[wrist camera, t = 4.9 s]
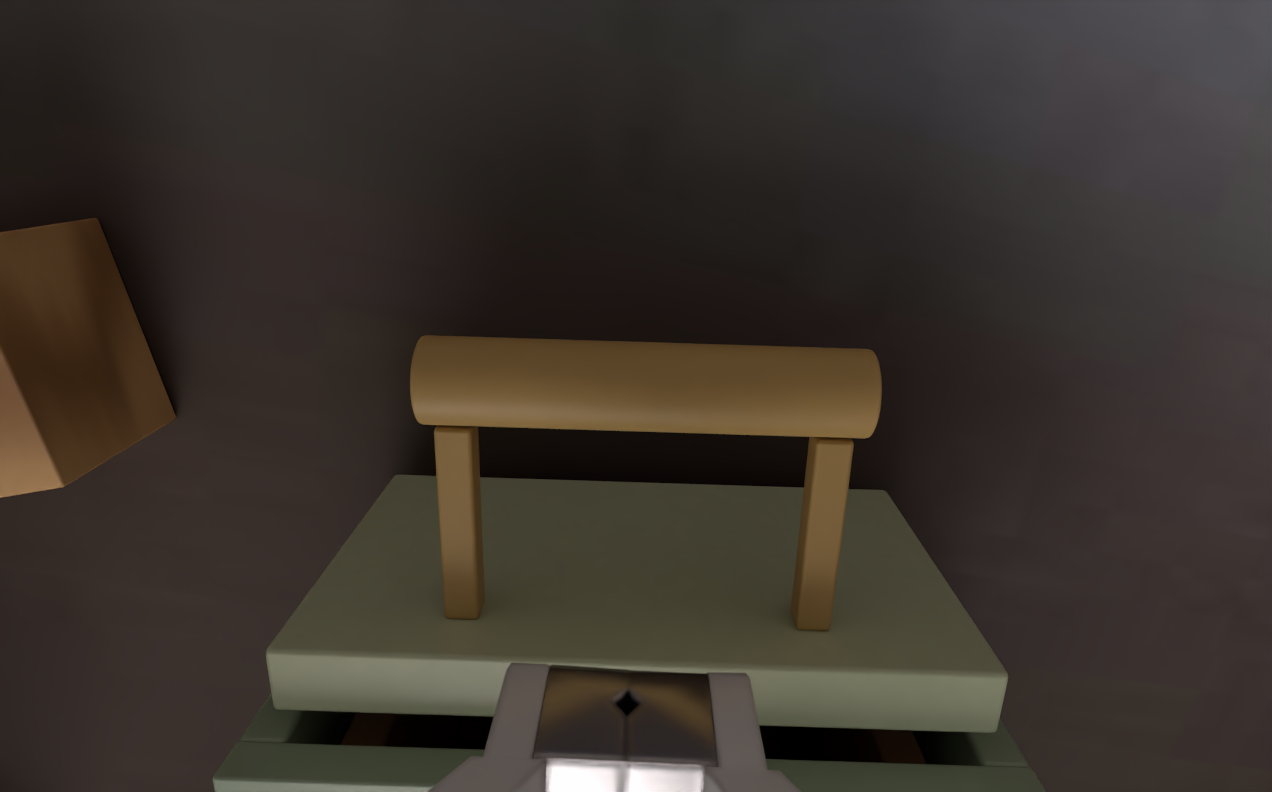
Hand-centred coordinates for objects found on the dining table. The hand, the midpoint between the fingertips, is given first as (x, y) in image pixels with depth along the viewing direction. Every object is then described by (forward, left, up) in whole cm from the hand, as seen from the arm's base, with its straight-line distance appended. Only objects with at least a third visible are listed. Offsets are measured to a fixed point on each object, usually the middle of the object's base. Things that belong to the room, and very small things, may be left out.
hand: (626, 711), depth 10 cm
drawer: (+7, 0, -9) cm, 11 cm away
